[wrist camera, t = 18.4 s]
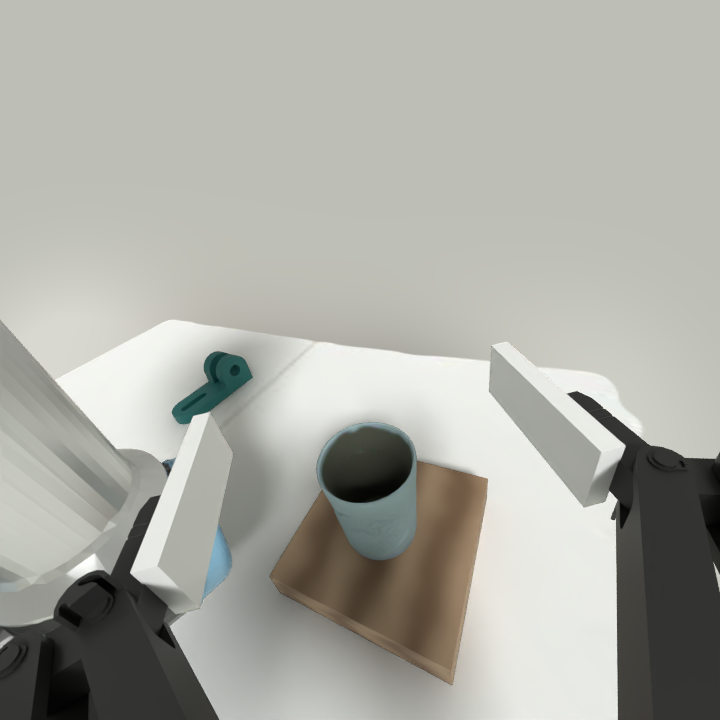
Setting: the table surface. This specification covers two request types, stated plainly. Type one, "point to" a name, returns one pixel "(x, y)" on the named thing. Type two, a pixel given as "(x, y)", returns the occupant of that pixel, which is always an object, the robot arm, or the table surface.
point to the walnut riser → (395, 572)
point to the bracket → (214, 385)
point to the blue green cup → (372, 487)
